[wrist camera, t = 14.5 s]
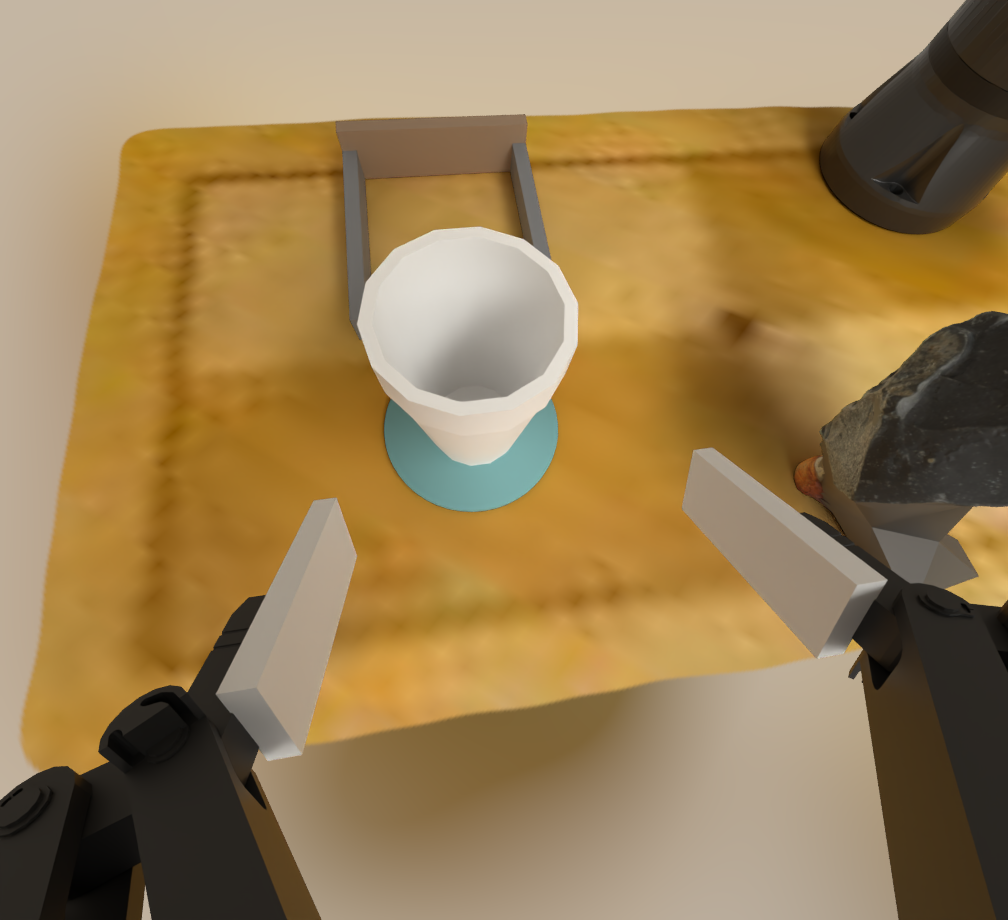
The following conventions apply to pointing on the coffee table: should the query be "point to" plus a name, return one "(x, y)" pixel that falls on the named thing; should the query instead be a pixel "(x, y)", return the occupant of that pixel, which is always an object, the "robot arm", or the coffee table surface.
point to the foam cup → (469, 336)
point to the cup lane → (430, 172)
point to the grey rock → (921, 453)
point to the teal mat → (465, 483)
